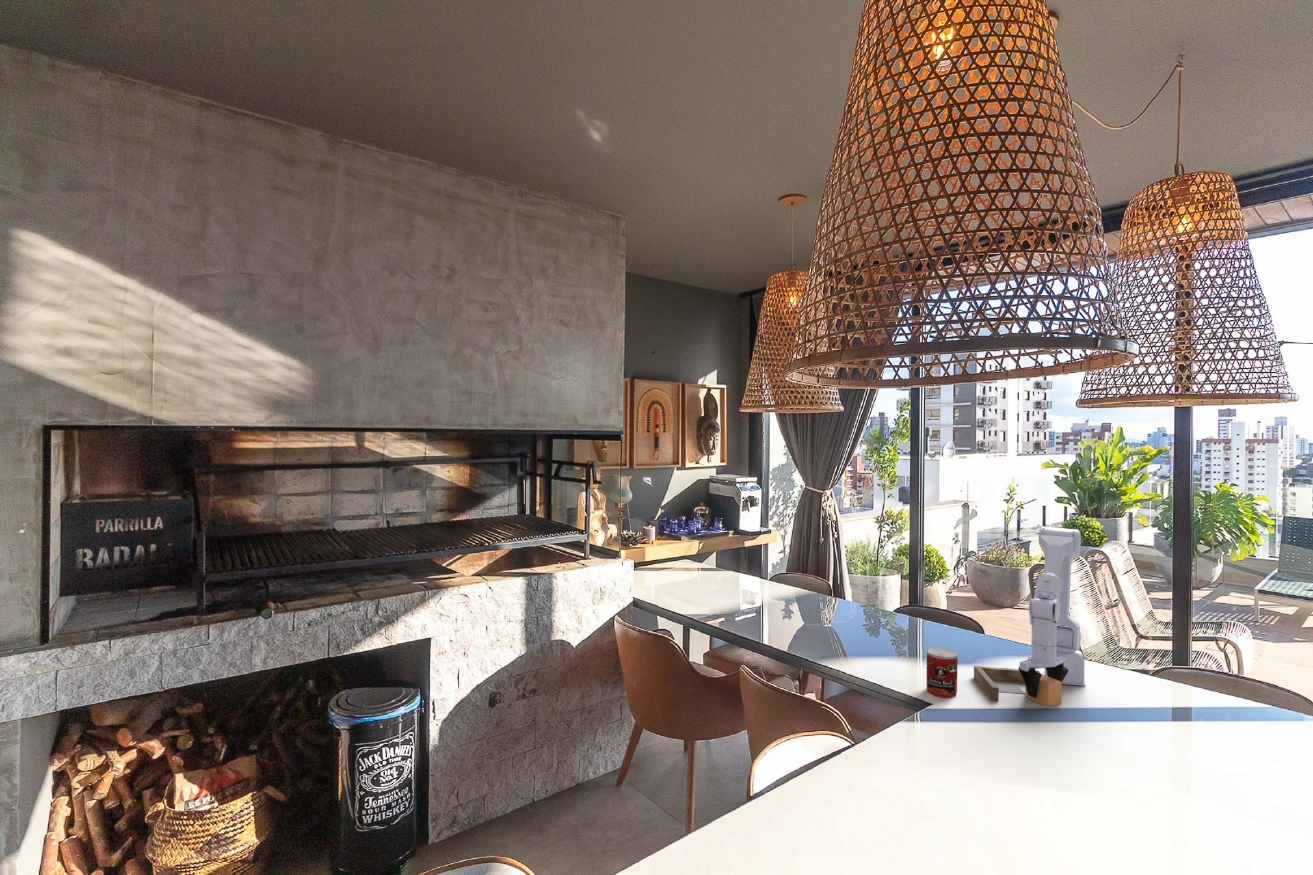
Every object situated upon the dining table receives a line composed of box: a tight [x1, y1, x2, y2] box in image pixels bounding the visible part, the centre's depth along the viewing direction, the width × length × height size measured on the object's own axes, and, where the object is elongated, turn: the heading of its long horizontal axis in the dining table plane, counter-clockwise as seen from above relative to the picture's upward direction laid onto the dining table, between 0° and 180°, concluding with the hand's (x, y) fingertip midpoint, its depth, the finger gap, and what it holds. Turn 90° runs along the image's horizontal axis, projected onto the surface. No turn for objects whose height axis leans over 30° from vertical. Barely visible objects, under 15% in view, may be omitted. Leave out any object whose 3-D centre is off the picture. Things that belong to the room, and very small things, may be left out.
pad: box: [993, 681, 1025, 695], centre depth 184 cm, size 9×8×1 cm
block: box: [1024, 674, 1063, 707], centre depth 175 cm, size 4×7×6 cm, turn 19°
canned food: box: [926, 647, 959, 699], centre depth 179 cm, size 8×8×11 cm
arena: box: [973, 665, 1041, 702], centre depth 181 cm, size 17×17×4 cm
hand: (1043, 694), depth 175 cm, fingers open, 7 cm apart
